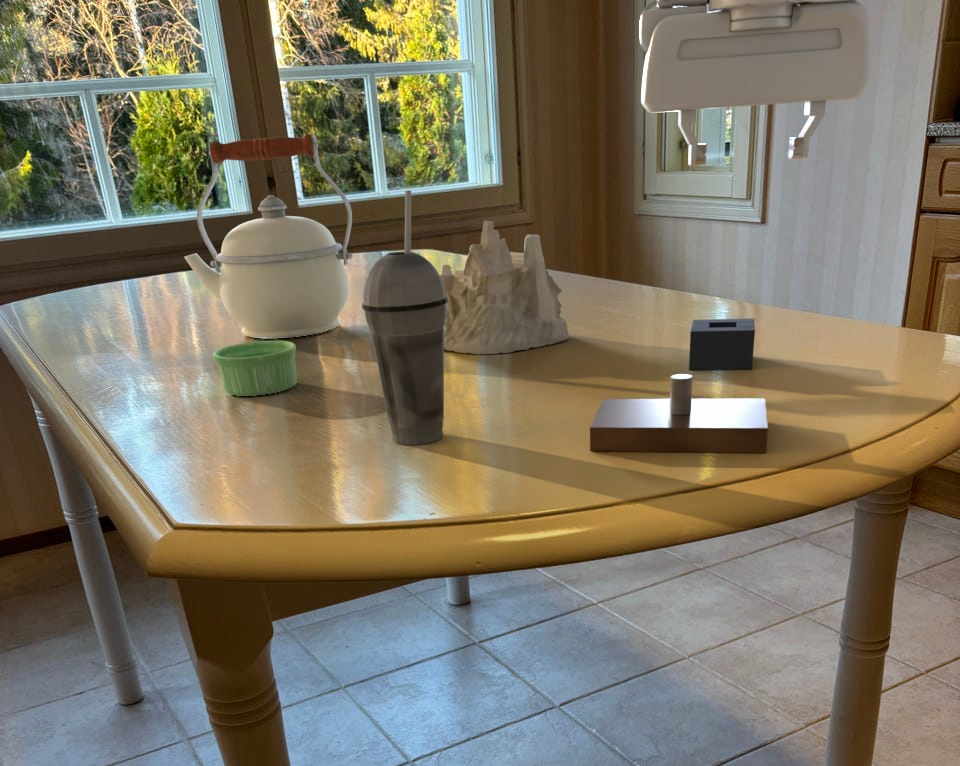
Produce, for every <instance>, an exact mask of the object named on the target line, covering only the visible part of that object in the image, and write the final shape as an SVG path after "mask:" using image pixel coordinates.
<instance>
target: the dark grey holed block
mask: <svg viewBox="0 0 960 766" xmlns="http://www.w3.org/2000/svg"><path fill="white" fill-rule="evenodd" d="M689 333H690V334H689V354H688V355H689V357H688V370H689V371H730V370H731V371H733V370H734V371H737V370H738V371H739V370H743V371H745V370H753V361H754V349H755V336H756V327H755V318H716V319H715V318H714V319H710V318H709V319H693V320H692V323H691V328H690V332H689Z"/></svg>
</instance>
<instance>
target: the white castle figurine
mask: <svg viewBox="0 0 960 766" xmlns="http://www.w3.org/2000/svg"><path fill="white" fill-rule="evenodd" d="M482 223H483V224H482V231H481V235H480V243H478V244H476V243H475V244H474V243H472V244H471V245H470V246H469V248H468V249H469V251H468V254H467V257H466V260H465V262H464V267H463V269H455V270H454V273H453V271H452V266H450V264H442V265H441V267H440V269H441V271H440V272H441V274H439V275H440V277H441V279H442V281H443V285H444V288H445V294H446V296H447V299H448V302H447V303H446V321H445V326H444V350H445V351H451V352H455V353H462V354H468V353H469V354H470V355H471V354H472V355H477V356H479V355H496V354H497V355H498V354H500V353H502V354H509V353H514V352H516V351H522V350H524V351H525V350H526V351H527V350H529V349H530V348H532V349H533V348H539V347H543V346H546V345H548V346H551V345H553V344H558V343H561V342H563V341H566V340H569V339H570V335H569V330H568V325H567V321H566V319H565V318H564V317H563V316H560V315H561V311H562V310H561V307H562V304H561V302H560V300H559V297H558V296H559V295H560V293H562V291H563V289H562V288H560V287H559V285H558V284H557V283H556V282H555V281H554V278H553V276H551V275H550V273H549V272H548V270H547V268H546V264H545V263H546V262H545V258H544V254H543V250H542V249H543V248H542V244H541V243H542V242H541V237H540V235H539V234H531V233H530V234H529V233H528V234H526V235H525V238H524V245H523V252H515V251H510V250H509V247H508V245H507V243H506V242H507V241H506V238H501V237H500V236H501V235H500V233H499V230H498V229H495V227H494V226H495V225H494V221H493V220H484V221H483V222H482ZM500 238H501V239H500Z"/></svg>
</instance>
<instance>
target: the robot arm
mask: <svg viewBox="0 0 960 766" xmlns="http://www.w3.org/2000/svg"><path fill="white" fill-rule="evenodd" d="M655 6H656V8H653V7H655ZM652 8H653V9H652ZM872 26H873V25H872V18H871V15H870V13H869V10H868V9H867V7H866V6H865V5H864V4H863V3H861V2H859V1H858V0H651V1H650V2H649V3H647V4H646V6H645V7H644V8H643V10H642V11H641V14H640V18H639V43H640V46H641V49H642V50H643V52H644V53H645V57H644V63H643V70H642V79H641V92H640V93H641V94H640V103H641V105H642V107H643V108H644V109H645V111H646V112H647V113H650V114H654V113H668V112H669V113H671V112H678V113H677V114H678V115H677V126H678V128H679V130H680V131H681V134H682V136H683V138H684V140H685V142H686V145H688V157H687V158H688V159H687V163H688V166H690V167H691V166H703V165H704V166H705V165H706V164H707V155H706V153H707V152H708V143H699V142H698V140H697V137H696V135H695V133H694V131H693V129H692V127H691V125H695V124H696V123H697V110H707V109H709V110H710V109H723V108H737V107H752V106H767V105H768V106H769V105H781V104H795V103H804V108H803V115H804V117H808V119H807V121H806V122H805V124H804V126H803V128H802V129H801V131H800V132H799V134H798V135H797V136H794V137H789V142H788V147H789V149H788V152H787V158H788V159H789V160H796V159H808V156H809V149H810V140H811V137H813V135H814V133H815V131H816V130H817V128H818V126H819V125H820V123H821V122H822V120H823V118H824V117H825V113H826V106H827V105H826V104H827V101H828V102H829V101H839V100H854V99H858V98H860V97H861V96H862V94H863V93H864V92H865V90H866V89H867V88H868V86H869V83H870V77H871V69H872V68H871V67H872V52H873V51H872V50H873V49H872V48H873V29H872Z"/></svg>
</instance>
